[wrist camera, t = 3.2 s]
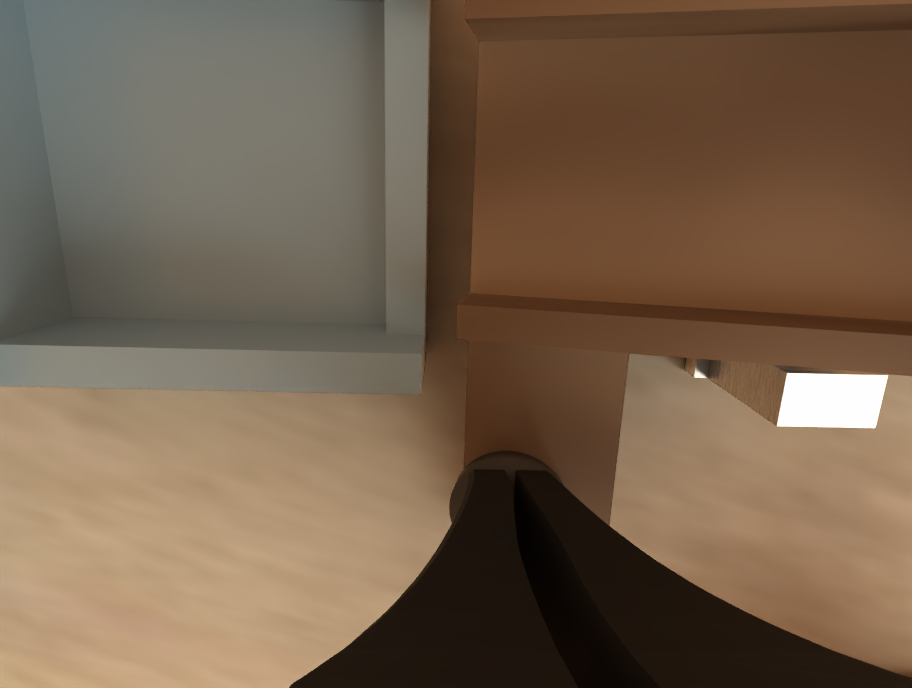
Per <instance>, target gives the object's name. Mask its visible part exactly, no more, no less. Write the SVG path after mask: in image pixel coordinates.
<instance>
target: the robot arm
mask: <svg viewBox="0 0 912 688" xmlns="http://www.w3.org/2000/svg"><path fill="white" fill-rule="evenodd" d="M289 688H912V679H910V678H907V677H904V676H902V675H899V674H896V673H893V672H890V671H888V670H885V669H882V668H879V667H877V666H874V665H871V664H868V663H865V662H863V661H860V660H857V659H854V658H852V657H849V656H846V655H843V654H840V653H838V652H835V651H832V650H830V649H827V648H825V647H823V646H820V645H818V644H816V643H813V642H811V641H809V640H806V639H804V638H802V637H799V636H797V635H795V634H792V633H790V632H788V631H785V630H783V629H781V628H778V627H776V626H774V625H772V624H770V623H768V622H765V621H763V620H761V619H759V618H757V617H755V616H753V615H751V614H749V613H747V612H745V611H743V610H741V609H739V608H737V607H735V606H733V605H731V604H729V603H727V602H725V601H724V600H722V599H720V598H718V597H716V596H714V595H712V594H710V593H708V592H707V591H705V590H703V589H701V588H700V587H698V586H696V585H694V584H693V583H691V582H689V581H687V580H686V579H684V578H683V577H681V576H680V575H678V574H676V573H675V572H673V571H672V570H670V569H668V568H667V567H665V566H664V565H662V564H661V563H659V562H657V561H656V560H654V559H653V558H652V557H650V556H649V555H647V554H646V553H644V552H643V551H641V550H640V549H639V548H637V547H636V546H635V545H633V544H632V543H631V542H629V541H628V540H627V539H626V538H624V537H623V536H622V535H620V534H619V533H618V532H616V531H615V530H614V529H613V528H611V527H610V526H609V525H608V524H606V523H605V522H604V521H603V520H602V519H600V518H599V517H598V516H597V515H596V514H595V513H593V512H592V511H591V510H590V509H589V508H588V507H587V506H585V505H584V504H583V503H582V502H581V501H580V500H579V499H578V498H576V497H575V496H574V495H573V494H572V493H571V492H570V491H569V490H568V489H567V488H566V487H565V486H563V485H562V484H561V483H560V482H559V481H558V480H557V479H556V478H555V477H554V476H553V475H551V474H550V473H549V472H548V471H547V470H541V471H537V470H516V475H515V491H514V504H513V495H512V486H511V482H510V479H509V477H508V475H507V473H506V472H505V470H490V469H474V470H473V471H471V472H470V473H469V474H468V485H467V489H466V492H465V495H464V498H463V501H462V503H461V506H460V508H459V510H458V512H457V515H456V517H455V519H454V521H453V523H452V525H451V527H450V529H449V530H448V532H447V534H446V535H445V537H444V539H443V541H442V542H441V544H440V546H439V547H438V549H437V551H436V552H435V554H434V555H433V556H432V558H431V559H430V561H429V562H428V564H427V565H426V566H425V568H424V569H423V570H422V572H421V573H420V574H419V576H418V577H417V578H416V579H415V581H414V582H413V583H412V584H411V585H410V586H409V587H408V589H407V590H406V591H405V592H404V593H403V594H402V595H401V597H400V598H399V599H398V600H397V601H396V602H395V603H394V604H393V605H392V606H391V607H390V608H389V609H388V610H387V611H386V612H385V613H384V614H383V615H382V616H381V617H380V618H379V619H378V620H377V621H375V622H374V623H373V624H372V625H371V626H370V627H369V628H368V629H366V630H365V631H364V632H363V633H362V634H361V635H360V636H359V637H357V638H356V639H355V640H354V641H353V642H352V643H351V644H349V645H348V646H347V647H346V648H344V649H343V650H342V651H340V652H339V653H337V654H336V655H334V656H333V657H332V658H330V659H329V660H327V661H326V662H324V663H323V664H321V665H320V666H318V667H317V668H316V669H314V670H313V671H311V672H310V673H308V674H307V675H305V676H304V677H302V678H300V679H299V680H297V681H296V682H294V683H293V684H292V685H291V686H290V687H289Z"/></svg>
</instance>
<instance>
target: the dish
mask: <svg viewBox="0 0 912 688" xmlns="http://www.w3.org/2000/svg"><path fill="white" fill-rule="evenodd" d="M430 43H431V0H0V386H14V387H63V388H113V389H162V390H212V391H261V392H311V393H360V394H409V395H421V393H422V385H423V377H424V369H425V360H426V318H427V249H428V180H429V111H430Z"/></svg>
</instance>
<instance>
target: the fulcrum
mask: <svg viewBox="0 0 912 688" xmlns="http://www.w3.org/2000/svg"><path fill="white" fill-rule="evenodd" d="M685 371H686V372H687V373H689V374H690V375H691V376H693V377H694V378H708V379H710V380H711V381H712V382H714V383H715V384H717V385H718V386H720V387H721V388H723V389H724V390H725V391H727V392H728V393H730V394H731V395H733V396H734V397H736V398H737V399H738V400H740V401H741V402H743V403H744V404H746V405H747V406H748V407H750V408H751V409H753V410H754V411H756V412H757V413H759V414H760V415H761V416H763V417H764V418H766V419H767V420H769V421H770V422H772V423H773V424H774V425H776V426H794V427H846V428H875V427H876V423H877V419H878V415H879V411H880V407H881V403H882V399H883V395H884V391H885V387H886V383H887V379H888V375H886V374H881V373H869V372H857V371H844V370H832V369H820V368H807V367H795V366H783V365H770V364H758V363H746V362H733V361H721V360H709V359H696V358H687V359H686V366H685Z"/></svg>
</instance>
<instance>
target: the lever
mask: <svg viewBox="0 0 912 688" xmlns="http://www.w3.org/2000/svg"><path fill="white" fill-rule="evenodd" d="M465 19H466V21H467V23H468V24H469V26H470V28H471V29H472V31H473V32H474V34H475V36H476V37H477V39H478V41H479V55H478V84H477V112H476V140H475V168H474V197H473V225H472V253H471V281H470V294H469V295H467V296H466V297H465V298H464V299H463V300H462V301H461V302H459V303H458V304H457V323H456V339H462V340H468V366H467V394H466V423H465V451H464V470H463V471H462V472H461V474H460V476H459V477H458V480H457V482H456V484H455V487H454V489H453V491H452V494H451V498H450V505H449V509H450V518H451V522H452V523H453V521H454V519H455V517H456V515H457V512H458V510H459V508H460V506H461V503H462V501H463V498H464V495H465V492H466V489H467V485H468V474H469V473H470V472H471V471H473V470H474V469H490V470H505V472H506V473H507V475H508V477H509V479H510V482H511V486H512V495H513V504H514V491H515V475H516V470H537V471H541V470H547V471H548V472H549V473H550V474H551V475H553V476H554V477H555V478H556V479H557V480H558V481H559V482H560V483H561V484H562V485H563V486H565V487H566V488H567V489H568V490H569V491H570V492H571V493H572V494H573V495H574V496H575V497H576V498H578V499H579V500H580V501H581V502H582V503H583V504H584V505H585V506H587V507H588V508H589V509H590V510H591V511H592V512H593V513H595V514H596V515H597V516H598V517H599V518H600V519H602V520H603V521H604V522H605V523H606V524H608V525H609V523H610V514H611V506H612V497H613V488H614V480H615V471H616V462H617V454H618V445H619V437H620V428H621V419H622V411H623V402H624V393H625V385H626V376H627V367H628V359H629V353H635V354H647V355H659V356H672V357H684V358H696V359H709V360H721V361H733V362H746V363H758V364H770V365H783V366H795V367H807V368H820V369H832V370H844V371H857V372H869V373H881V374H894V375H906V376H912V0H466V15H465Z"/></svg>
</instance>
